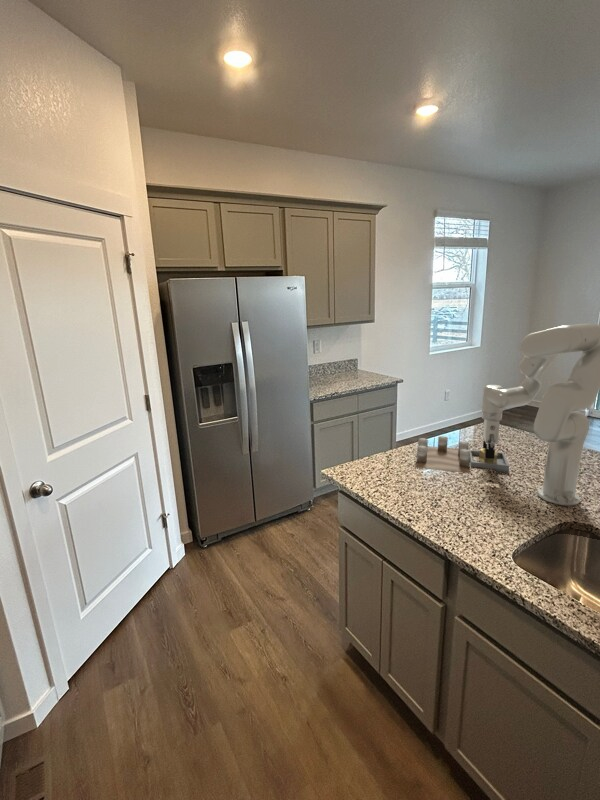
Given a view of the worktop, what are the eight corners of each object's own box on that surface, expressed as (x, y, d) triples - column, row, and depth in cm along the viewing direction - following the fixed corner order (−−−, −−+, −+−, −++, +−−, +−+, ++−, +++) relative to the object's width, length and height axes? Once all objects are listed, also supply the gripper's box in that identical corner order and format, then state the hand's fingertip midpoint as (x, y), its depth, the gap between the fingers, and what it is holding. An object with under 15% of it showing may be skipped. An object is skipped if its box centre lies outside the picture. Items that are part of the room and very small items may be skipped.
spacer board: (470, 475, 154) (472, 459, 153) (415, 470, 161) (416, 454, 159) (466, 451, 178) (467, 437, 176) (418, 447, 185) (419, 433, 183)
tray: (508, 472, 156) (509, 465, 155) (470, 468, 161) (471, 462, 160) (503, 459, 169) (503, 452, 168) (468, 456, 173) (468, 449, 173)
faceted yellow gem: (495, 459, 166) (496, 448, 165) (497, 465, 160) (498, 454, 159) (478, 458, 168) (478, 447, 167) (479, 463, 163) (480, 452, 161)
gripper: (505, 421, 150) (501, 462, 154) (498, 409, 166) (495, 447, 170) (484, 420, 153) (480, 460, 157) (479, 408, 168) (476, 445, 173)
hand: (488, 453), depth 163 cm, fingers open, 9 cm apart
